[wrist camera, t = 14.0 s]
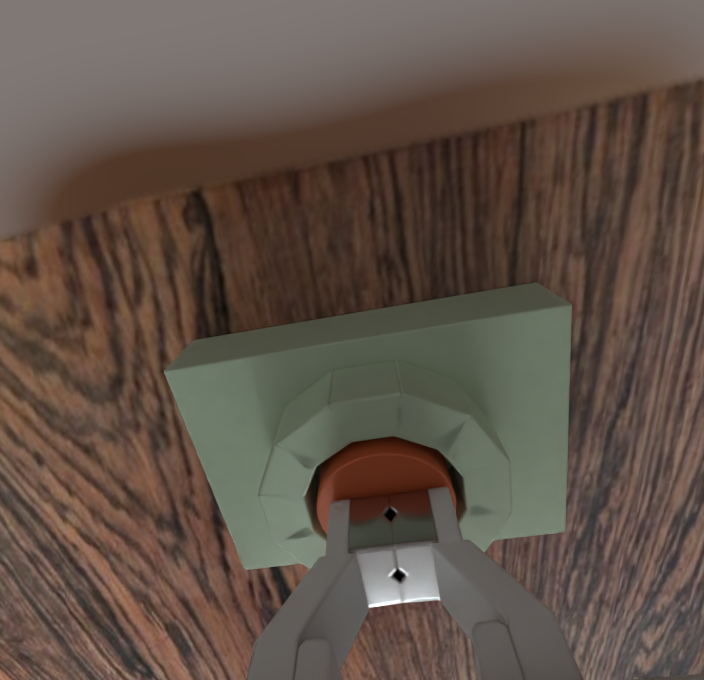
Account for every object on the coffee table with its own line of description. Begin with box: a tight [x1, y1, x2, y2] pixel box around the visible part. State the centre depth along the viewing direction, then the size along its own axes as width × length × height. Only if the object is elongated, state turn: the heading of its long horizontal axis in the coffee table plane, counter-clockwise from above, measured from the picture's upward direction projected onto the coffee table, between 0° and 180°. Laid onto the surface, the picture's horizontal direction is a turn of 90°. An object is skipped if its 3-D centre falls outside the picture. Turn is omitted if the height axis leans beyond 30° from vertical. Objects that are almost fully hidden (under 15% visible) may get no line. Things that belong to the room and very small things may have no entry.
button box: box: [164, 282, 572, 570], centre depth 12 cm, size 11×8×4 cm
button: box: [317, 436, 456, 534], centre depth 11 cm, size 4×4×2 cm
